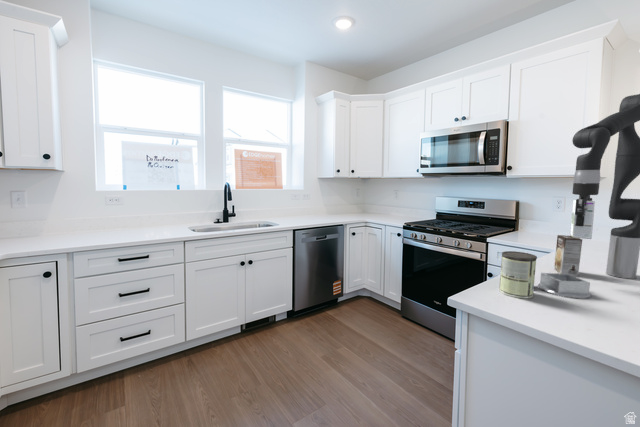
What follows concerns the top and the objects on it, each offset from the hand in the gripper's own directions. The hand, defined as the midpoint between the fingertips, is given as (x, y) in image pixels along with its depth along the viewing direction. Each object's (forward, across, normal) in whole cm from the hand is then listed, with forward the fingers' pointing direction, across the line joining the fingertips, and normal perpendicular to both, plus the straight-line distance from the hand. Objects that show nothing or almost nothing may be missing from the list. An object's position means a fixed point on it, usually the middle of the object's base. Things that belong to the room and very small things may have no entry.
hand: (581, 225), depth 116 cm
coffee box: (+24, -15, -6) cm, 28 cm away
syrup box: (+5, 0, 0) cm, 5 cm away
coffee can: (+23, +32, -11) cm, 41 cm away
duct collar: (+23, +15, -1) cm, 28 cm away
